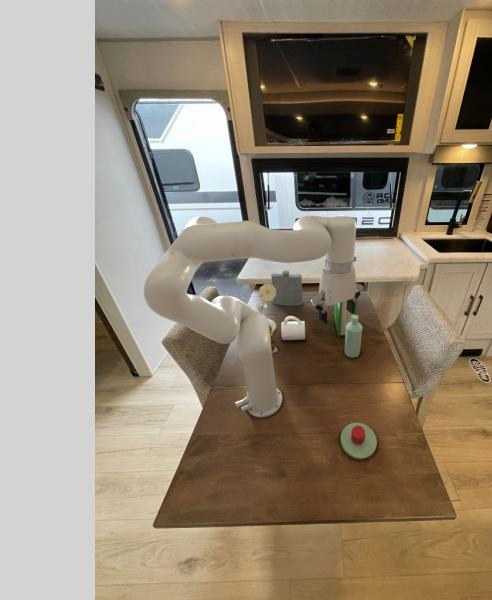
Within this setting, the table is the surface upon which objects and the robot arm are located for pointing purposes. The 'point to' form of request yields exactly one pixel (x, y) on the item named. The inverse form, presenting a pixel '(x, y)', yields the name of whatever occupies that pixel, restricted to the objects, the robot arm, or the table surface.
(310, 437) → the table surface
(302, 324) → the mug
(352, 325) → the bottle
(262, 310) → the flower in vase
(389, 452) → the table surface
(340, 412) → the table surface
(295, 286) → the hip flask
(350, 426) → the coaster
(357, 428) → the cap
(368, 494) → the table surface
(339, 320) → the hardback book
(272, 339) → the condiment
